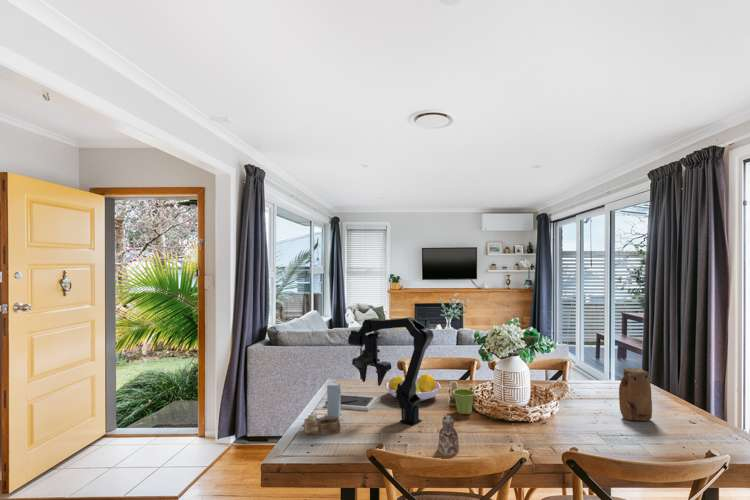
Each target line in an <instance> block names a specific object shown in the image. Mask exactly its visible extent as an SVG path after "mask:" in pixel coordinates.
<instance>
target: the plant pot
mask: <svg viewBox="0 0 750 500" xmlns="http://www.w3.org/2000/svg"><path fill="white" fill-rule="evenodd" d="M452 394H453V396H454V398H455V406H456V411H457V413H458V414H460V415H470V414H472V411H473V403H474V397H475V395H476V392H475V391H474V390H472V389H467V388H457V389H454V390H453V391H452Z"/></svg>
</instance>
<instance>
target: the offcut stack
mask: <svg viewBox="0 0 750 500" xmlns="http://www.w3.org/2000/svg"><path fill="white" fill-rule="evenodd" d="M317 419H318V416H317V414H310V415H308V416H307V418H304V419H303V420H304V427H305V431H306V433H309V432H318V422H317ZM305 431H304V432H305Z"/></svg>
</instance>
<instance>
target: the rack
mask: <svg viewBox="0 0 750 500" xmlns="http://www.w3.org/2000/svg"><path fill="white" fill-rule="evenodd" d="M317 422H318V432H309V433H306V431H305V426H304V429H303V431H304V436H306V437H307V436H316V435H327V434H336V433H338V434H339V433H341V422H340V419H339V418H338V417H335V418H333V417H326V418H317Z"/></svg>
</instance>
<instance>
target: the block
mask: <svg viewBox="0 0 750 500" xmlns="http://www.w3.org/2000/svg"><path fill="white" fill-rule="evenodd" d="M651 385H652V384H651V380H650V373H649V372H648V371H645V370H644V369H642V368H638V367H637V368H632V367H627V368H624V369H623V376H621V380H620V383H619V385H618V398H619V399H618V400H619V410H620V414H621V416H622V418H623V419H625V420H627V421H638V422H639V421H640V422H641V421H643V422H646V421H650V420H651V419H652V418H653V417H652V416H653V400H652V386H651Z"/></svg>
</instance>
